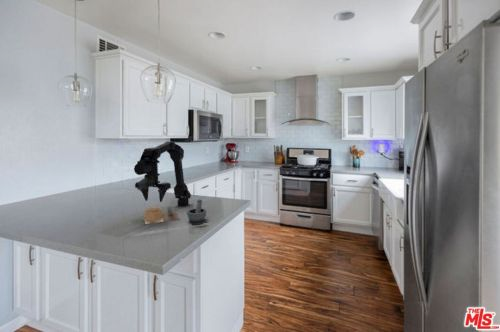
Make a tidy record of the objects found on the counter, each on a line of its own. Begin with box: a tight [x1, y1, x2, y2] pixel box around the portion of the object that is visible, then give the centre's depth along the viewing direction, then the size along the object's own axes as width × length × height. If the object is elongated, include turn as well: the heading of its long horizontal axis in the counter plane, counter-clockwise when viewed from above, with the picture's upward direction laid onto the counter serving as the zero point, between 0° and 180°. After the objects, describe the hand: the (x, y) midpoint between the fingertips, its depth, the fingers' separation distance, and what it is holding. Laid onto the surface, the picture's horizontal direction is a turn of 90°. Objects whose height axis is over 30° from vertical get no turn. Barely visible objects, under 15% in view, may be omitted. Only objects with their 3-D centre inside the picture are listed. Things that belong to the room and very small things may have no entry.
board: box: [142, 205, 181, 226], centre depth 140 cm, size 18×14×6 cm
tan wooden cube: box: [144, 206, 163, 222], centre depth 136 cm, size 6×6×6 cm
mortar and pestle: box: [186, 199, 207, 227], centre depth 136 cm, size 11×9×12 cm
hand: (153, 201), depth 136 cm, fingers open, 9 cm apart
